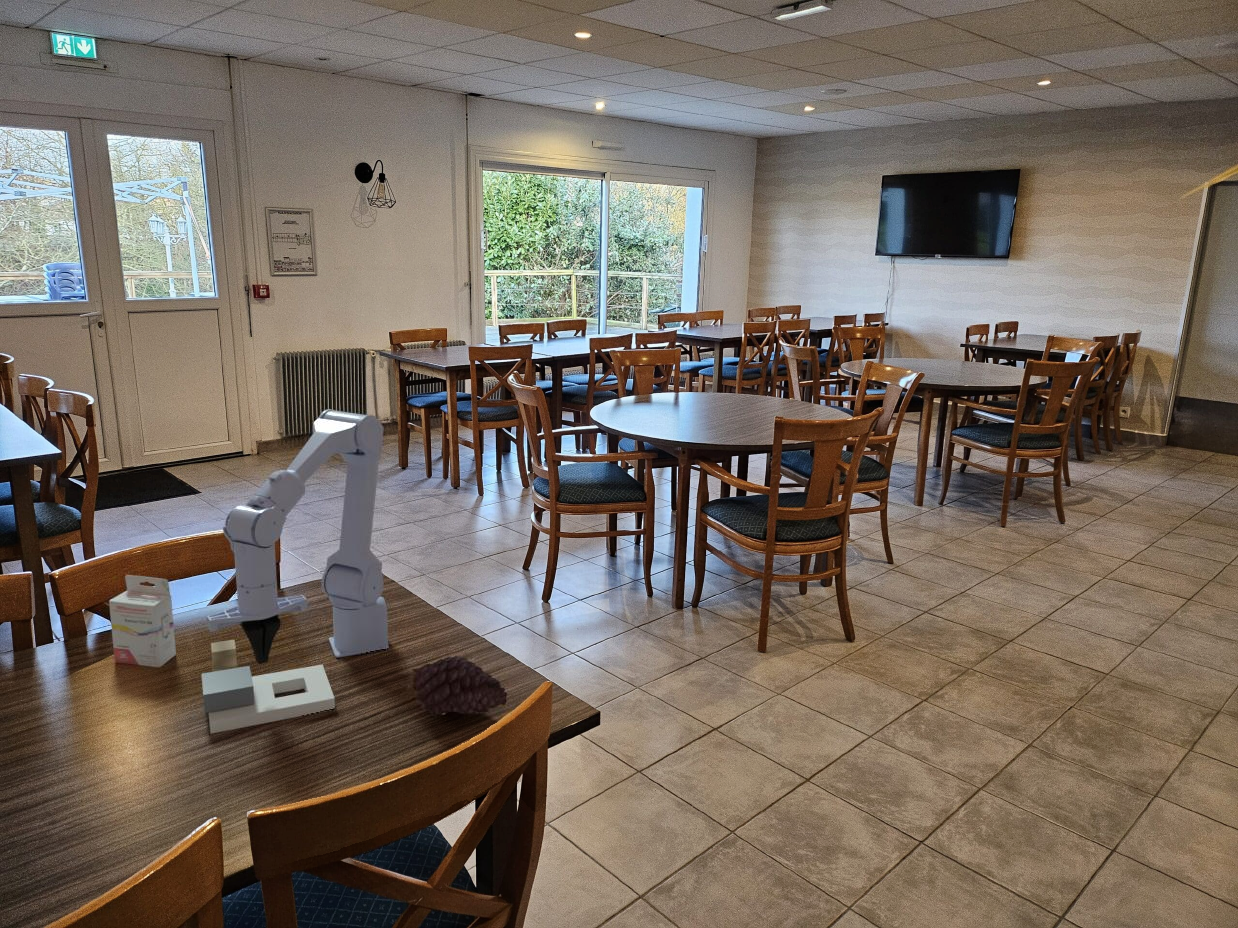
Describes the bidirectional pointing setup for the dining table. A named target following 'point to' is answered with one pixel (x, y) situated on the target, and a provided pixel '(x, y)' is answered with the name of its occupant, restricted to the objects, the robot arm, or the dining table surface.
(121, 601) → the ink cartridge box
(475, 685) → the pine cone
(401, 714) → the dining table surface
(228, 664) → the maple peg
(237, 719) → the socket plate
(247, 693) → the grey cover
